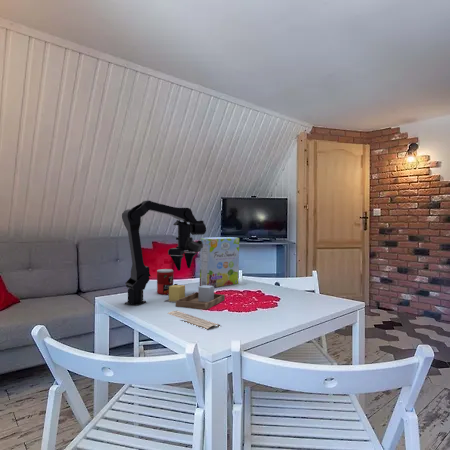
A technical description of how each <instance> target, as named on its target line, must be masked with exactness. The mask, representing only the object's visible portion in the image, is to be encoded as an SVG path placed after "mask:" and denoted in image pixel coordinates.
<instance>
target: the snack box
mask: <svg viewBox="0 0 450 450" xmlns="http://www.w3.org/2000/svg"><path fill="white" fill-rule="evenodd" d="M200 241H202V243H203V248H201V251H200V254H199V257H200V259H199V262H200V263H199V287H200V286H203V285H209V286H214V288H218V287H220V288H221V287H225V286H232V285H238V284H239V268H240V267H239V265H240V262H239V261H240V255H239V254H240V237H233V236H232V237H231V236H229V237H228V236H227V237H225V236H221V237H217V236H216V237H215V236H214V237H213V236H212V237H200Z"/></svg>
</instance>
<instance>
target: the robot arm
mask: <svg viewBox="0 0 450 450" xmlns="http://www.w3.org/2000/svg"><path fill="white" fill-rule="evenodd" d="M149 211H150V212H156V213H159V214H164V215H167V216H171V217H173V218H174V219H176V221H175V222H174V223H173V226H177V237H175V240H177V245H176V246H175V247H172V248H171V247H170V248H169V249H168V250H167V255H168V256H169V257H170V258H171V260H172V261H173V263H174V265H175V267H176V269H177V271H179V272H180V271H181V268H182V260H183V258H184V259H185V263H186V264H185V265H186V266H187V267H186V268H188V269H190V268H191V265H192V263H193V261H194V260H193V259H194V257H195V256H196V255H197V254H198V253H199V252H200V251H201V248H203V243H202V241H201V240H198V241H194V239H193V237H191V236H202V235H205V234H206V231H207V227H206V224H205V222H204V220H197V219H196V217H195V216H194V214H193V210H192V209H191V208H189V207H181V206H180V207H179V206H170V205H167V204H163V203H159V202H155V201H153V200H148V199H147V200H143V201H142V202H141V203H139V204H137V205H136V206H133V207H132V208H128V209H125V210H124V211H122V213H121V219H122V222H123V225H124V227H125V229H126V230H127V235H128V242H129V248H130V249H129V250H130V255H131V262H132V264H131V268H130V277H129V278H128V279H127V280H126V282H125V287H126V288H127V301H126V302H124V304H125V305H133V306H139V305H143V304H144V303H147V301H146V300H144V290H146V287H147V284H148V283H149V282H150V277H152V276H151V273H150V267H149V266H147V265H145V263H144V257H143V249H142V242H141V234H140V227H141V223H142V222H141V221H142V217H143V216H145V215H146V214H147V213H148V212H149Z"/></svg>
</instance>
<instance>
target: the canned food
mask: <svg viewBox="0 0 450 450" xmlns="http://www.w3.org/2000/svg"><path fill="white" fill-rule="evenodd" d="M172 285H174V270H173V269H172V268H162V269H157V270H156V291H157V294H158V295H169V286H172Z"/></svg>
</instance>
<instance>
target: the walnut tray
mask: <svg viewBox="0 0 450 450" xmlns="http://www.w3.org/2000/svg"><path fill="white" fill-rule="evenodd" d="M225 299H226V298H225V294H220V293H219V294H218V293H214V300H212V301H210V302H202V301H198V291H195V292H194V293H191V294H189V295H185V297H184V298H181V299H179V300H176V303H175V307H177V308H185V309H186V308H188V309H196V310H204V311H207V310H209V309H211V308H212V307H214V306H216V305H218V304H220V303H222V302H223V301H225Z"/></svg>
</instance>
